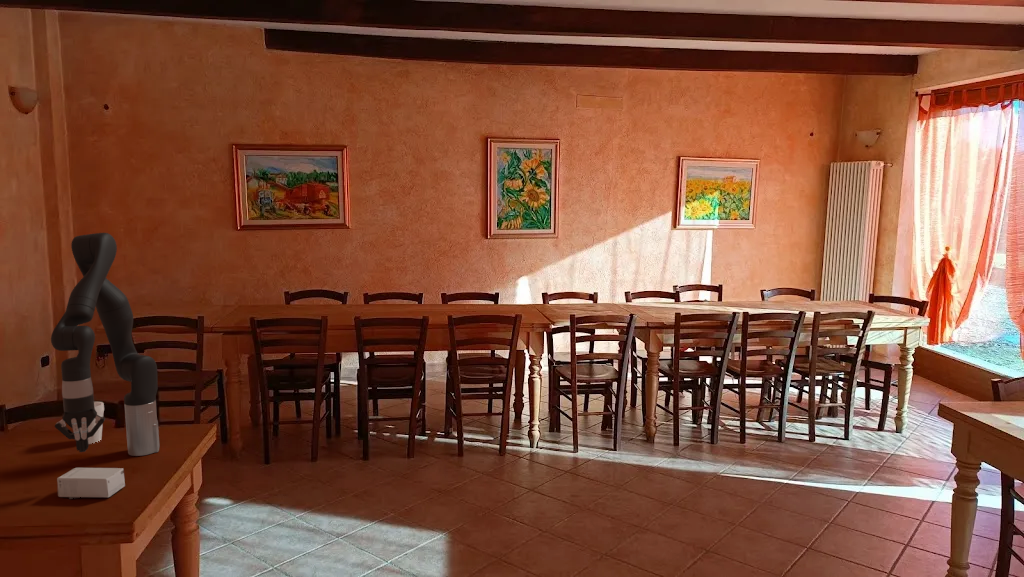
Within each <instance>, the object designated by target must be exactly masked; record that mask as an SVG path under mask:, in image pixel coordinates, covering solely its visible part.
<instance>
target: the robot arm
mask: <svg viewBox="0 0 1024 577" xmlns="http://www.w3.org/2000/svg"><path fill="white" fill-rule="evenodd" d="M70 246H71V252H72V255H73V258H74V261H75V262H76V264H77V267H78V268H79V271H80V273H81V274H82V276H83V277H82V278H81V279H80V280H79V281H78V283H76V285H75V286H74V287H73V288H72V290H71V293H70V295H69V297H68V301H67V304H66V309H65V311H64V313H63V314H62V316H61V318H60V319H59V321H58V322H57V323H56V325H55V327H54V328H53V330H52V333H51V336H50V343H51V345H52V347H53V348H54V349H55V350H57V351H63V352H65V351H66V352H67V351H69V352H70V351H78V353H77V355H76V356H74V357H70V358H66V359H64V360H62V361H61V365H60V366H61V367H60V369H61V380H62V381H61V382H62V384H61V395H62V396H61V397H62V402H63V403H62V405H63V415H62V419H61V420H59V421H57V422H56V423H55V425H54V428H55V429H57V430H58V431H59V432H60V433H61V434H62V435H63V436H65V437H66V438H67V439H68V440H74V441H75V448H76V451H78V452H79V453H85V452H86V451H87V450H88V449H89V445H90V444H88V438H89V437H92V436H93V435H94V434H95V433H96V431H97V430H98V429H99V427H100V426H101V425H102V424H104V422H105V420H106V417H105V416H103V417H101V416H99V415H97V412H96V411H95V408H94V402H95V398H94V387H93V386H94V385H93V381H92V376H91V375H92V373H91V358H92V353H93V348H94V345H95V342H96V340H95V339H96V335H95V331H94V330H93V328H92V327H90V326H88V325H83V324H87V323H89V322H91V321H92V320H93V317H94V314H95V310H96V311H97V314H98V318H99V320H100V321H101V324H102V327H103V330H104V331H105V335H106V338H107V341H108V343H109V346H110V349H111V353H112V358H113V362H114V366H115V369H116V372H117V375H118V376H119V377H120V378H121V379H122V380H123V381H126V382H130V384H131V385H130V388H131V389H130V391H129V392H127V393H126V394H124V397H123V402H124V404H123V405H124V417H125V429H126V443H127V454H128V455H129V456H133V457H134V456H135V457H138V456H140V457H141V456H147V455H151V454H153V453H158V452H159V451H160V436H159V435H160V431H159V420H158V417H157V399H156V396H157V392H158V387H159V386H158V380H159V378H158V366H157V363H156V361H155V358H154V357H151V356H149V355H144V354H139V353H138V351H137V349H136V346H135V345H134V341H133V338H132V337H133V336H132V330H133V326H134V313H133V311H132V307H131V304H130V302H129V299H128V297H127V295H126V294H125V293H124V291H122V290H121V289H119V287H117V286H116V285H115V284H114V283H113V282H111V281H110V280H109V279H108V278H107V276H108V274H109V272H110V270H111V267H112V265H113V263H114V261H115V258H116V255H117V251H118V250H117V247H118V245H117V241H116V239H115V238H114V236H113V235H111V234H110V233H108V232H97V233H90V234H89V233H88V234H82V235H76V236H75V237H74V238H73V239H71V244H70ZM94 419H96V421H95V423H96V425H95V426H94V427H93V429H92V430H91V431H90V432H88V426H89V425H90V424H91V423H92V421H93V420H94ZM67 426H69V427H70V428H71V429H72V430H71V429H69V428H68V427H67ZM102 426H103V425H102ZM80 428H82V438H81V430H80Z"/></svg>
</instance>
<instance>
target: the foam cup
mask: <svg viewBox="0 0 1024 577" xmlns="http://www.w3.org/2000/svg"><path fill="white" fill-rule="evenodd" d="M104 404H105V403H104V402H103V401H94V408H95V411H96V412H97V415H99V416H101V417H104V411H105V405H104ZM95 421H96V419H94V420H93V421H92V423H91V424H90V425H89V426H88V432H90V431H91V430H92V429H93V427H94V426H95V425H96V423H95ZM103 424H104V423H103ZM103 424H102V425H101V426H100V427H99V429H98V430H97V431H96V433H95V434H94V435H93V436H92V437H89V438H88V444H89V445H93V444H96V443H95V442H97V443H99V442H101V441H102V437H103ZM80 430H81V438H82V428H80ZM100 440H101V441H100ZM98 441H99V442H98ZM92 443H93V444H92Z"/></svg>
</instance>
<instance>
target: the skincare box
mask: <svg viewBox="0 0 1024 577" xmlns="http://www.w3.org/2000/svg"><path fill="white" fill-rule="evenodd" d="M125 481H126V480H125V470H124V467H123V468H122V467H121V468H120V467H119V468H118V467H75V468H72V469H71V470H69V471H67V472H66V473H64V474H62V475H61V476H58V477H57V478H56V482H57V497H59V498H69V497H81V498H110V497H112V496H113V495H114V494H116V493H117V492H119V491H120V490H121V489H123V488H124V487H126V483H125Z"/></svg>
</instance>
